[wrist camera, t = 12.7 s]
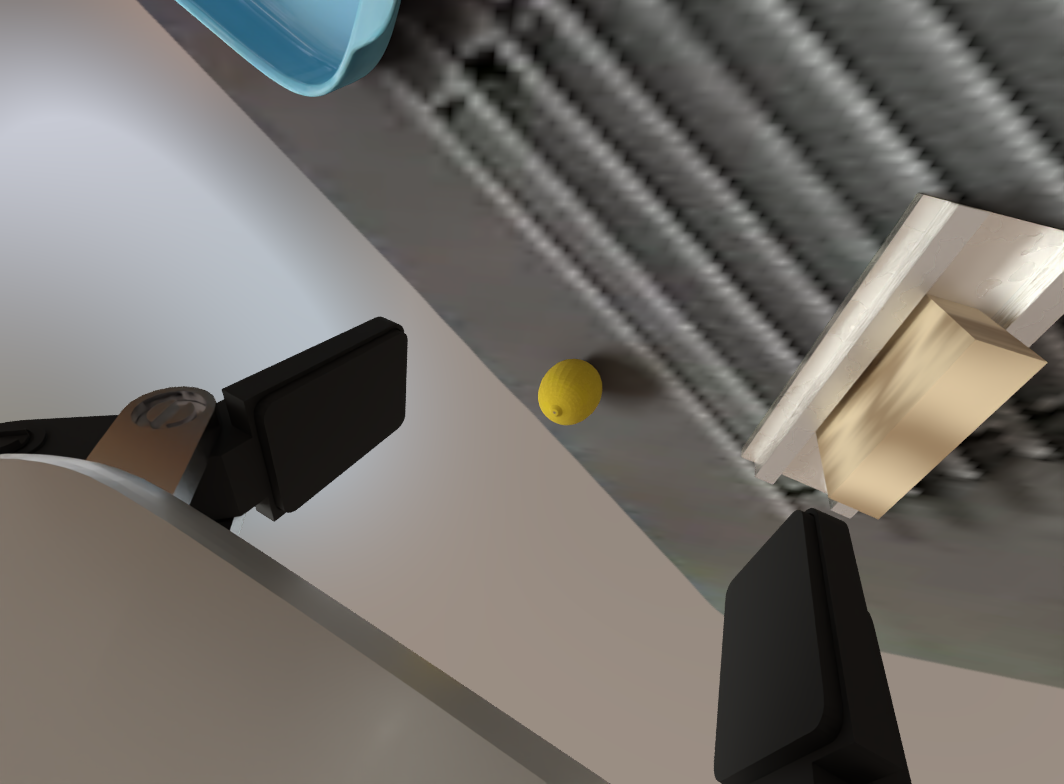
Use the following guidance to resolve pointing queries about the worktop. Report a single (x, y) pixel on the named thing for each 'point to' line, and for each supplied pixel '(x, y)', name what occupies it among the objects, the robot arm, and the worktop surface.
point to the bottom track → (890, 296)
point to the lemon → (570, 391)
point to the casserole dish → (303, 37)
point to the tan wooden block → (919, 402)
